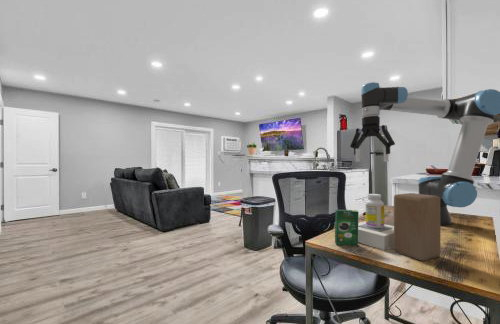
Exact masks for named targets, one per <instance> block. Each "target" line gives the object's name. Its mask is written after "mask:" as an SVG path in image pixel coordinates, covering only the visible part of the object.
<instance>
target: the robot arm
mask: <svg viewBox="0 0 500 324" xmlns="http://www.w3.org/2000/svg"><path fill="white" fill-rule="evenodd" d="M408 92H409V91H408V89H407V87H405V86H389V87H381V86H380V83H379V82H374V81H373V82H372V81H371V82H368V83H365V84H363V85H362V86H361V95H360V96H361V117H362V118H361V126H362V128H356V129H355V134H354V136H353V139H352V142H350V148H353V155H354V156H355V163H360V162H361V148H360V147H361V145H363V142H364V141H365V139H367V138H369V137H376V138H377V139H378V140H379V141H380V142H381V143H382V145H384V146H383V148H382V149H383V162H385V163H387V162H389V155H390V154H391V147H392V146H395V145H396V143H395V141H394V140H393V137H392V136H391V133H390V132H389V130H388V126H387V125H386V124H385V125H384V124H382V125H380V123H381V122H380V121H381V119H380V118H381V117H380V114H381V112H380V111H392V112H400V113H411V114H420V115H426V116H427V115H428V116H436V117H437V118H439V119H446V120H453V121H460V122H462V125H461V128H460V131H459V133H458V137H457V140H456V144H455V146H454V149H453V153H452V156H451V159H450V161H449V165H448V167H447V171H445V172H443V173H442V174H441V176H423V177H420V178H419V179H418V183H417V184H418V185H417V186H418V194H424V195H433V196H438V197H440V226H447V225H448V226H449V225H452V218H451V214H450V212H449V209H448V207H453V208H465V207H468V206H471V205H472V204H473V203H474V202H475V201H476V199H477V198H478V190H477V189H476V187H475V185H474V183H475V180H474V178H472V175H473V171H474V169H475V165H476V163H477V159H478V157H479V154H480V150H481V147H482V145H483V141H484V137H485V135H486V131H487V129H488V126H490V125H491V124H493V123H494V122H495V119H496V116H497V115H499V114H500V91H499V90H497V89H493V88H489V89H484V90H479V91H478V92H475V93H471V94H468V95H464V96H462V97H459V98H452V99H451V98H450V99H449V98H444V99H442V100H438V99H427V98H419V97H410V96H408V94H409V93H408ZM380 130H381V131H382V133H383V135H384V136H383V135H382V134H381V133H380Z"/></svg>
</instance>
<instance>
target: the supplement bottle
mask: <svg viewBox="0 0 500 324" xmlns="http://www.w3.org/2000/svg"><path fill="white" fill-rule="evenodd" d="M367 197H368V200H366V201H365V221H366V226H368V227H370V228H383V227H384V224H385V203H384V202H383V200H381V199H382V194H379V193H368V194H367Z"/></svg>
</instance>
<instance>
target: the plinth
mask: <svg viewBox="0 0 500 324" xmlns="http://www.w3.org/2000/svg"><path fill="white" fill-rule="evenodd" d="M359 243H360V244H364V245H366V246H370V247H373V248H376V249H378V250H382V251H385V250H388V249H391V248H394V225H391V224H385V223H384V227H383V228H370V227H368V226H366V220H364V221H360V222H358V244H359Z"/></svg>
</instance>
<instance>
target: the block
mask: <svg viewBox="0 0 500 324" xmlns="http://www.w3.org/2000/svg"><path fill="white" fill-rule="evenodd" d="M393 226H394V247H393V250H394V252H396V253H399V254H402V255H404V256H407V257H410V258H413V259H415V260H419V261H421V262H423V261H427V260H431V259H434V258H439V257H440V256H441V225H440V197H438V196H433V195H424V194H419V193H415V192H413V193H411V192H409V193H398V194H397V193H396V194H395V195H393Z"/></svg>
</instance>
